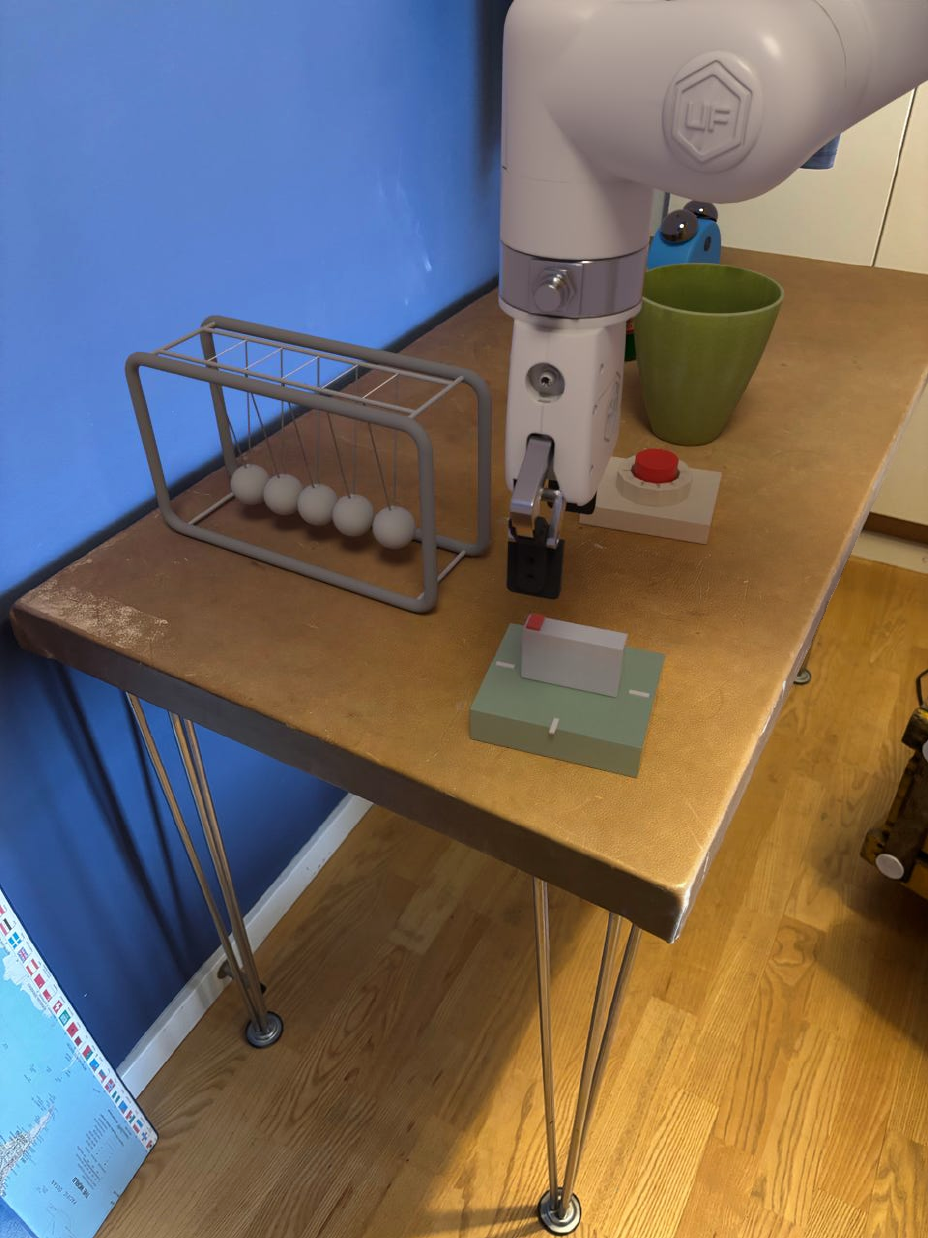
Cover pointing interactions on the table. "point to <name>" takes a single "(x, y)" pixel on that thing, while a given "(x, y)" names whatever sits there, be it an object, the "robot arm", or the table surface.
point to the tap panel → (568, 711)
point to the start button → (656, 466)
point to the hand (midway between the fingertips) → (553, 548)
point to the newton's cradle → (317, 499)
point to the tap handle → (573, 655)
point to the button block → (656, 502)
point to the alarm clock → (687, 237)
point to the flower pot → (700, 344)
